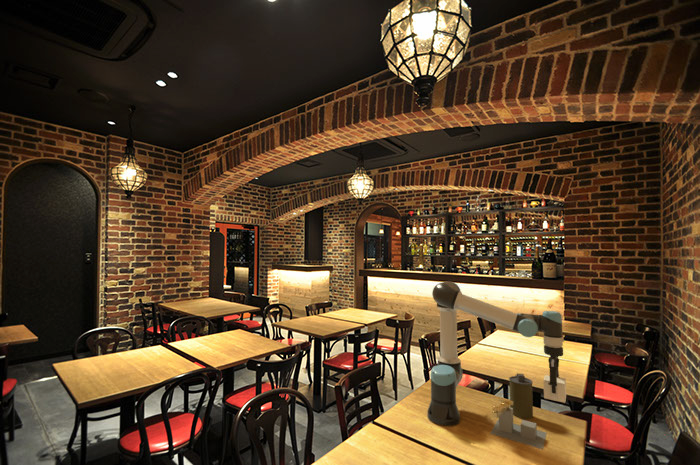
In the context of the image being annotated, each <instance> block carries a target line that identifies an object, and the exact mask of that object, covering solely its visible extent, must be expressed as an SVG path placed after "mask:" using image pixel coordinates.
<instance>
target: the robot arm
mask: <svg viewBox="0 0 700 465" xmlns="http://www.w3.org/2000/svg"><path fill="white" fill-rule="evenodd" d="M431 294H432V299H433V300H434V301H435V303H436V308H437V309H439V335H440V336H439V337H440V338H439V340H440V341H439V342H440V343H439V344H440V346H439V347H440V356H438V357H437V365H434V366H433V367H432V368H431V371H430V401H429V406H428V408H427V419H428V420H429V421H431V422H432V423H434V424H436V425H439V426H445V427H450V426H456V425H458V424H459V423H460V422H461V415H460V412H459V409H458V405H457V387H458V385H459V384H460V383H461V381H462V379H463V376H464V375H463V368H462V364H461V361H462V360H461V359H460V358H459V356H458V318H457V317H458V316H457V311H458V310H460V311H462V312H465V313H467V314H470V315H472V316H475V317H478V318H480V319H483V320H484V321H488V322H490V323H494V324H496V325H499V326H502V327H504V328H506V329H509V330H512V331H514V332H517V333H520V335H521V336H523V337H525V338H532V337H534V336H536V334H537V333H538V332H542V333H543V335H542V337H543V338H542V339H543V353H544V354H545V355H547V356H549V357H548V369H549V376H550V383H548V385H550V395H551V401H555V402H559V401H558V389H557V377H559V378H561V377H560V374H559V373H560V372H559V367H560V358H559V357H563V356H564V347H563V346H564V345H563V343H564V342H565V339H563V318H562V316H563V315H562V313H560V312H559V311H555V310H544V311H543V312H542V314H532V313H522V312H521V313H519V312H518V313H516V312H513V311H510V310H508V309H505V308H502V307H499V306H497V305H494V304H491V303H489V302H485V301H482V300H480V299H477V298H474V297H471V296H469V295H465V294H463V293H462V291H461V288H460V286H459V285H458V284H457V283H455V282H453V281H449V280H447V281H443V282H439V283H437V284H436V285H435V286H434V287H433V289H432V292H431Z"/></svg>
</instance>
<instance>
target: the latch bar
mask: <svg viewBox="0 0 700 465" xmlns="http://www.w3.org/2000/svg"><path fill="white" fill-rule="evenodd" d="M497 401H498V402H501V404H499V405H498V406H496V405H493V406H492V411H491V417H492V418H495V419H499V416H500V415H501V414H502V413H503V412H505V411H506V410H507V409H510V404H511V405H513V401H510V399H506V398H504V397H499V396H498V398H497Z"/></svg>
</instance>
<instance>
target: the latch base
mask: <svg viewBox="0 0 700 465" xmlns="http://www.w3.org/2000/svg"><path fill="white" fill-rule="evenodd" d="M496 420H497V421H496V422H495V424H494V426H493V428H492V429H491V431H490V435H495V436H497V437H500V438H504V439H508V440H511V441H514V442H516V443H520V444H524V445H527V446H530V447H533V448H537V449H540V450H543V449H544V446H545V443H546V442H545V441H546V437H547V434H548V433H547V432H546V431H542V430H539V429H537V428H538V427H537V423H536V422H533V421H529V420H527V419H522V420H521V423H520V424H517V423H514V415H513V408H510V409H507V410H506V411H505V412H503V413H502V414H501V415H500V416H499V417H498V418H497V419H496Z"/></svg>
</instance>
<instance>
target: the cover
mask: <svg viewBox="0 0 700 465" xmlns="http://www.w3.org/2000/svg"><path fill="white" fill-rule="evenodd" d="M543 377H544V378H543V398H544V399H545V400H551V395H550V385H548V383H550V375H547V374H545V375H544V376H543ZM559 377H560V376H559ZM559 377H557V389H558V401H557V402H561V403H563V404H565V403H566V399H567V390H566V389H567V386H566V385H567V383H566V382H567V381H566V378H564V377H560V378H559ZM551 401H552V400H551Z"/></svg>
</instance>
